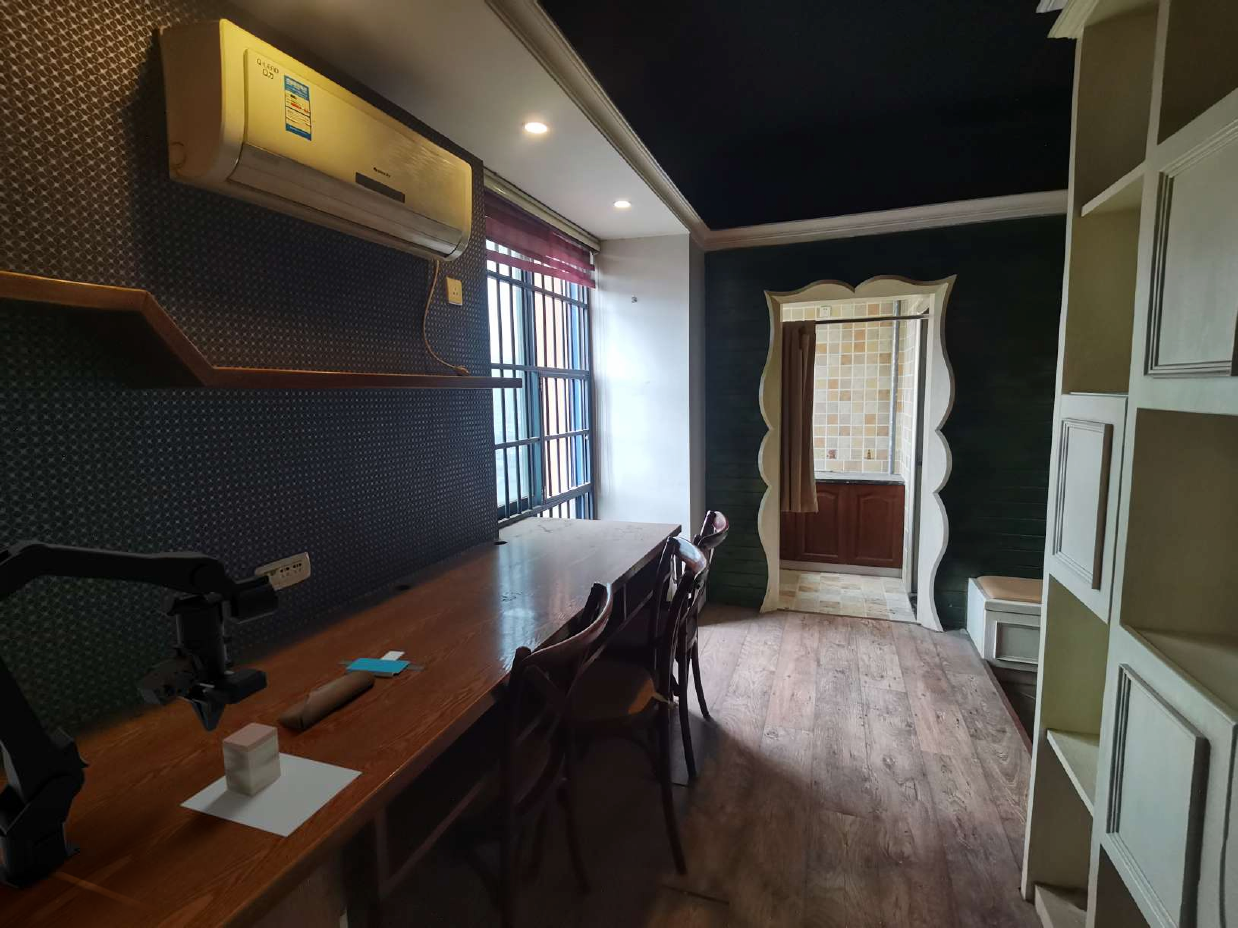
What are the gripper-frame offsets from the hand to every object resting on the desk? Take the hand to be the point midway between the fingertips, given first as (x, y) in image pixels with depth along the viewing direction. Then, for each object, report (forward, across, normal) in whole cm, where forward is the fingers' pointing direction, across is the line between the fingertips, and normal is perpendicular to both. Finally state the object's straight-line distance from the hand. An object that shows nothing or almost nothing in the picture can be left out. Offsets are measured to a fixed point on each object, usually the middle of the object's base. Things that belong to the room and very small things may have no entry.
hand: (210, 730), depth 91 cm
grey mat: (+8, +12, 0) cm, 14 cm away
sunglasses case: (+8, 0, +22) cm, 24 cm away
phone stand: (+8, -1, +39) cm, 40 cm away
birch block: (+7, +8, 0) cm, 11 cm away
